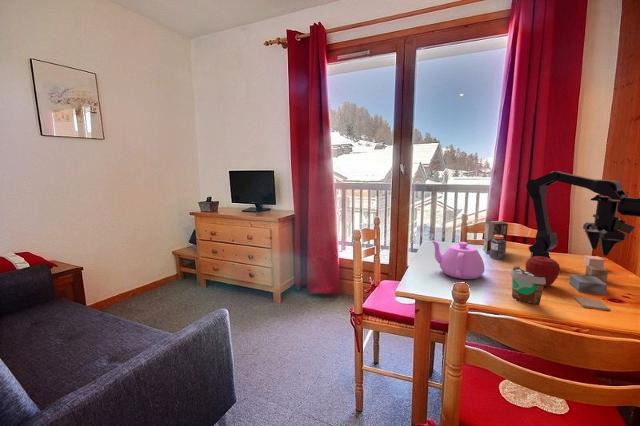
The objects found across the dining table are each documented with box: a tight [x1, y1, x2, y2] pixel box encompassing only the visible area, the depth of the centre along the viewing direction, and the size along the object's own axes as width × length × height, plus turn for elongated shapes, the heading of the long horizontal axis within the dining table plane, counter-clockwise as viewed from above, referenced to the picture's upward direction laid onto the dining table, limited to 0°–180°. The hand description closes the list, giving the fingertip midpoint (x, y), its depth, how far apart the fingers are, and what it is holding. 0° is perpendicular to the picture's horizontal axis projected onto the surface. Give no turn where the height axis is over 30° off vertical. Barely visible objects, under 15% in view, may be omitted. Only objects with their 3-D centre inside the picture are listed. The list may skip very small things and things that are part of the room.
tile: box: [573, 296, 611, 311], centre depth 101 cm, size 7×7×1 cm
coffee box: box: [482, 220, 509, 255], centre depth 158 cm, size 9×6×16 cm
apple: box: [525, 256, 561, 288], centre depth 116 cm, size 11×11×12 cm
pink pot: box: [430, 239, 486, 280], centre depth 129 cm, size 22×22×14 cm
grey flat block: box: [568, 273, 608, 295], centre depth 113 cm, size 8×8×4 cm
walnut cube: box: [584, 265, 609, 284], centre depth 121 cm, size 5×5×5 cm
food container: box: [509, 265, 546, 306], centre depth 104 cm, size 12×6×10 cm, turn 5°
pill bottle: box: [489, 235, 505, 260], centre depth 149 cm, size 6×6×11 cm
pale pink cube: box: [583, 255, 605, 268], centre depth 134 cm, size 5×5×5 cm
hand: (599, 252), depth 120 cm, fingers open, 9 cm apart
